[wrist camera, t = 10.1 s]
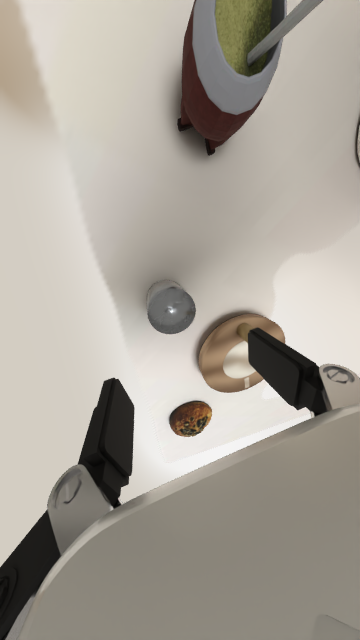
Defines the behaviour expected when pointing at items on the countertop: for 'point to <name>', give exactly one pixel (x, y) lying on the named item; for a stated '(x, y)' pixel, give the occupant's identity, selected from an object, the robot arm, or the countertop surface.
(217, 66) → the mate gourd
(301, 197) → the countertop surface
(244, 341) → the turntable
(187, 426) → the bread roll
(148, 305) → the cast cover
